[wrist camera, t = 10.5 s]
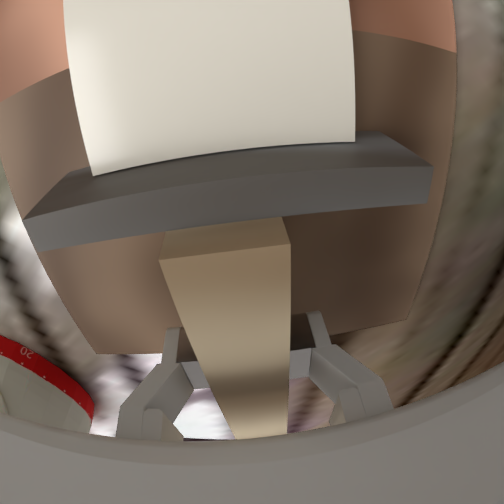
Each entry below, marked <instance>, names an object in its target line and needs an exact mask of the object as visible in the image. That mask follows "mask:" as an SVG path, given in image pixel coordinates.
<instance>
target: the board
mask: <svg viewBox="0 0 504 504" xmlns="http://www.w3.org/2000/svg"><path fill="white" fill-rule="evenodd" d="M349 7H350V16H351V26H352V39H353V53H354V74H355V131H380V132H381V133H383V134H385V135H386V136H388V137H390V138H391V139H393V140H395V141H396V142H398V143H399V144H401V145H403V146H404V147H406V148H407V149H409V150H410V151H412V152H413V153H415V154H416V155H418V156H419V157H421V158H422V159H424V160H425V161H427V162H428V163H430V164H431V165H432V166H434V170H433V176H432V181H431V186H430V191H429V196H428V201H427V203H426V204H412V205H399V206H386V207H374V208H363V209H351V210H341V211H330V212H320V213H311V214H301V215H292V216H283V217H282V220H283V223H284V226H285V229H286V232H287V235H288V238H289V241H290V244H291V315H293V314H299V313H306V312H313V311H320V312H321V314H322V317H323V320H324V323H325V326H326V329H327V332H328V335H335V334H340V333H346V332H351V331H356V330H361V329H366V328H371V327H376V326H380V325H385V324H389V323H394V322H398V321H402V320H406V319H407V317H408V314H409V312H410V309H411V307H412V304H413V301H414V299H415V296H416V293H417V290H418V287H419V284H420V281H421V278H422V275H423V272H424V269H425V266H426V263H427V259H428V256H429V253H430V249H431V246H432V242H433V238H434V235H435V231H436V227H437V223H438V219H439V215H440V210H441V206H442V201H443V196H444V191H445V186H446V181H447V175H448V169H449V163H450V156H451V149H452V141H453V132H454V121H455V108H456V88H457V53H456V33H455V21H454V11H453V3H452V0H349ZM0 157H1V161H2V164H3V167H4V171H5V174H6V177H7V180H8V183H9V186H10V189H11V192H12V195H13V198H14V200H15V203H16V206H17V208H18V211H19V213H20V216H21V218H22V220H23V218H24V217H25V216H26V215H27V214H28V213H29V212H30V211H31V210H32V208H33V207H34V206H35V205H36V204H37V203H38V202H39V201H40V200H41V199H42V198H43V197H44V196H45V195H46V194H47V193H48V192H49V191H50V190H51V189H52V188H53V187H54V186H55V185H56V184H57V183H58V182H59V181H60V180H61V179H62V178H63V177H64V176H65V175H66V174H67V173H68V172H71V171H75V170H78V169H82V168H85V167H89V166H90V163H89V160H88V156H87V152H86V148H85V144H84V140H83V136H82V132H81V128H80V123H79V119H78V114H77V109H76V104H75V99H74V94H73V88H72V82H71V76H70V69H69V62H68V55H67V46H66V36H65V25H64V9H63V0H0ZM27 233H28V232H27ZM165 233H166V231H165V232H158V233H151V234H145V235H138V236H131V237H125V238H119V239H112V240H106V241H100V242H94V243H88V244H82V245H76V246H70V247H65V248H59V249H53V250H48V251H42V252H37V251H36V253H37V255H38V257H39V259H40V261H41V263H42V265H43V267H44V269H45V271H46V273H47V275H48V276H49V278H50V280H51V282H52V284H53V286H54V288H55V289H56V291H57V293H58V295H59V296H60V298H61V300H62V302H63V303H64V305H65V307H66V308H67V310H68V312H69V313H70V315H71V317H72V318H73V320H74V321H75V323H76V324H77V326H78V328H79V329H80V331H81V332H82V334H83V335H84V337H85V338H86V340H87V341H88V343H89V344H90V345H91V347H92V348H93V350H94V351H95V353H96V354H154V353H163V347H164V341H165V334H166V330H167V328H172V327H183V324H182V322H181V319H180V317H179V314H178V312H177V309H176V306H175V304H174V301H173V299H172V296H171V293H170V291H169V288H168V285H167V283H166V280H165V277H164V274H163V271H162V269H161V266H160V263H159V256H160V252H161V248H162V245H163V241H164V237H165ZM30 240H31V239H30ZM31 242H32V241H31ZM32 244H33V243H32ZM33 246H34V245H33ZM34 248H35V247H34ZM35 250H36V249H35Z"/></svg>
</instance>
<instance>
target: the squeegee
mask: <svg viewBox="0 0 504 504" xmlns="http://www.w3.org/2000/svg"><path fill="white" fill-rule="evenodd" d="M433 170H434V166H432V165H431V164H430V163H428V162H427V161H425V160H424V159H422V158H421V157H419V156H418V155H416V154H415V153H413V152H412V151H410V150H409V149H407V148H406V147H404V146H403V145H401V144H399V143H398V142H396V141H395V140H393V139H391V138H390V137H388V136H386V135H385V134H383V133H381V132H380V131H355V142H328V143H307V144H292V145H279V146H267V147H257V148H247V149H239V150H230V151H223V152H215V153H208V154H201V155H195V156H188V157H182V158H176V159H171V160H165V161H160V162H155V163H149V164H144V165H140V166H135V167H130V168H126V169H121V170H117V171H112V172H108V173H104V174H100V175H96V176H93V174H92V171H91V167H90V166H89V167H85V168H82V169H78V170H75V171H71V172H68V173H67V174H66V175H65V176H64V177H63V178H62V179H61V180H60V181H59V182H58V183H57V184H56V185H55V186H54V187H53V188H52V189H51V190H50V191H49V192H48V193H47V194H46V195H45V196H44V197H43V198H42V199H41V200H40V201H39V202H38V203H37V204H36V205H35V206H34V207H33V208H32V210H31V211H30V212H29V213H28V214H27V215H26V216H25V217H24V218H23V220H22V222H23V224H24V226H25V228H26V230H27V232H28V235H29V237H30V239H31V241H32V243H33V245H34V247H35V249H36V251H37V252H42V251H48V250H53V249H59V248H65V247H70V246H76V245H82V244H88V243H94V242H100V241H106V240H112V239H119V238H125V237H131V236H138V235H145V234H151V233H158V232H165V231H166V233H165V237H164V241H163V245H162V248H161V252H160V256H159V263H160V266H161V269H162V271H163V274H164V277H165V280H166V283H167V285H168V288H169V291H170V293H171V296H172V299H173V301H174V304H175V306H176V309H177V312H178V314H179V317H180V319H181V322H182V324H183V327H184V329H185V331H186V334H187V336H188V339H189V341H190V343H191V346H192V348H193V350H194V353H195V355H196V357H197V360H198V362H199V364H200V366H201V369H202V371H203V373H204V375H205V377H206V380H207V382H208V384H209V386H210V388H211V390H212V392H213V395H214V397H215V399H216V401H217V403H218V405H219V407H220V409H221V411H222V413H223V415H224V417H225V419H226V421H227V423H228V425H229V427H230V429H231V431H232V433H233V435H234V436H235V438H236V439H249V438H259V437H268V436H276V435H283V434H287V418H288V396H289V367H290V322H291V244H290V241H289V238H288V235H287V232H286V229H285V226H284V223H283V220H282V217H283V216H292V215H301V214H311V213H320V212H330V211H341V210H351V209H363V208H374V207H386V206H399V205H412V204H426V203H427V201H428V196H429V191H430V186H431V181H432V176H433Z"/></svg>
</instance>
